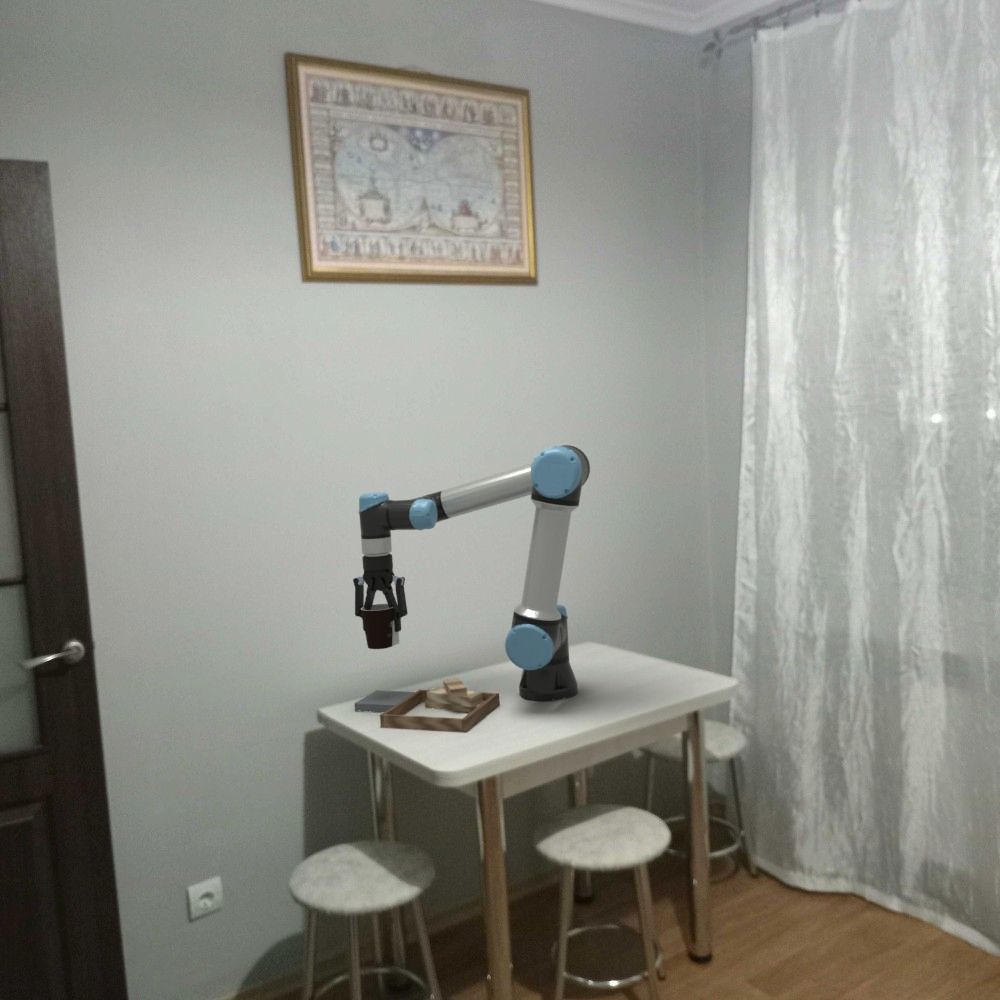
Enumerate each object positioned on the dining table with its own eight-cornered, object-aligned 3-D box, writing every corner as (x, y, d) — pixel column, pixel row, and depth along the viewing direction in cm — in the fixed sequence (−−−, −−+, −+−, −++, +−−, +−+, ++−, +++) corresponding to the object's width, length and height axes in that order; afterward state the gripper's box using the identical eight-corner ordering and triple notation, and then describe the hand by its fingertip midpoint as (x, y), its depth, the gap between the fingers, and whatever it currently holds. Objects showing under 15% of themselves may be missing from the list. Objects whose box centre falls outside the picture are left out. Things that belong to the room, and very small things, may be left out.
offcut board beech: (467, 695, 241) (466, 687, 241) (451, 698, 240) (450, 690, 240) (458, 685, 251) (458, 678, 251) (443, 688, 250) (442, 680, 250)
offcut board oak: (489, 710, 244) (488, 701, 244) (480, 715, 240) (479, 706, 240) (435, 705, 252) (434, 696, 252) (425, 710, 248) (424, 701, 248)
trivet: (418, 699, 256) (417, 692, 255) (397, 713, 244) (397, 705, 244) (377, 697, 260) (376, 690, 260) (355, 711, 249) (354, 703, 248)
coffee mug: (383, 651, 243) (380, 611, 242) (356, 648, 248) (353, 609, 247) (411, 640, 253) (408, 602, 252) (385, 638, 258) (382, 601, 257)
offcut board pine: (482, 702, 243) (482, 692, 243) (471, 707, 240) (471, 697, 239) (438, 696, 251) (437, 687, 251) (427, 701, 248) (426, 691, 247)
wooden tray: (499, 704, 246) (499, 693, 246) (466, 732, 226) (465, 719, 226) (420, 700, 254) (419, 689, 254) (380, 727, 234) (379, 714, 233)
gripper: (418, 551, 249) (423, 641, 251) (350, 552, 256) (356, 639, 257) (405, 556, 242) (411, 648, 244) (336, 556, 249) (342, 646, 250)
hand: (383, 643), depth 250 cm, fingers closed on coffee mug, 6 cm apart
